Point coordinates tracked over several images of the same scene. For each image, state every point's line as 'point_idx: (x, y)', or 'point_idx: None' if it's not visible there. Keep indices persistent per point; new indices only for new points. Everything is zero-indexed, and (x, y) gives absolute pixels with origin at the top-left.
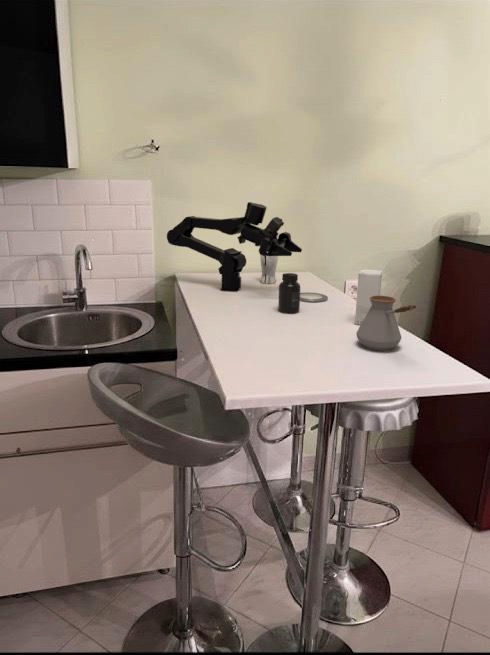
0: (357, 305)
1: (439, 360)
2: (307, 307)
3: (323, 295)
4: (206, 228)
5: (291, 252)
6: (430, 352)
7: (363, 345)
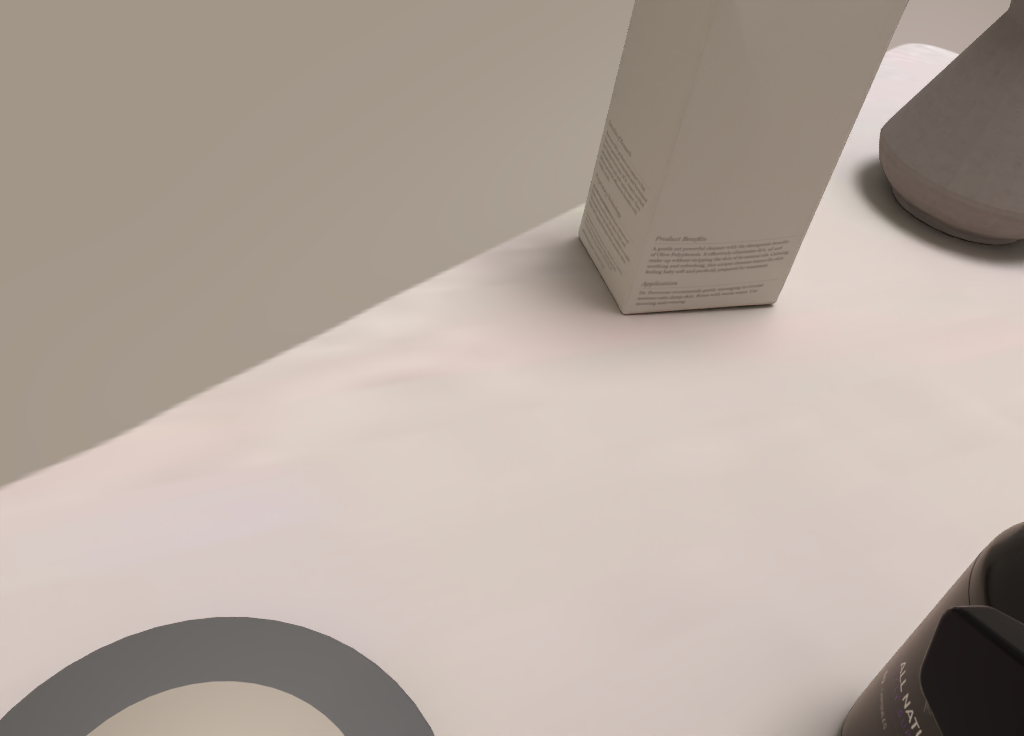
0: (819, 193)
1: (882, 90)
2: (661, 695)
3: (51, 712)
4: None
5: (973, 612)
6: None
7: (1018, 239)
